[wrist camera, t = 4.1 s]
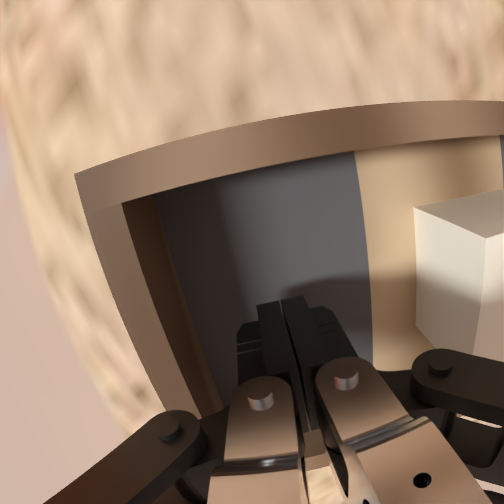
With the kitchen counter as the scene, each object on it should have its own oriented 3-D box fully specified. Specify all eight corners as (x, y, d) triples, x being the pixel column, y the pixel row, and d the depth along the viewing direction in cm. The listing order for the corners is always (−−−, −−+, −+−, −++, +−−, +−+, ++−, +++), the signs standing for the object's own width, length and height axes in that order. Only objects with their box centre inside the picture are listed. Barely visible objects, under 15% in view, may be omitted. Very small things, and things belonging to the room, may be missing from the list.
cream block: (415, 325, 12) (466, 383, 8) (413, 207, 10) (486, 238, 7) (498, 293, 12) (552, 333, 8) (503, 188, 10) (572, 209, 7)
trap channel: (213, 419, 14) (211, 485, 10) (125, 163, 10) (73, 174, 7) (577, 284, 14) (612, 306, 10) (583, 114, 10) (627, 119, 6)
